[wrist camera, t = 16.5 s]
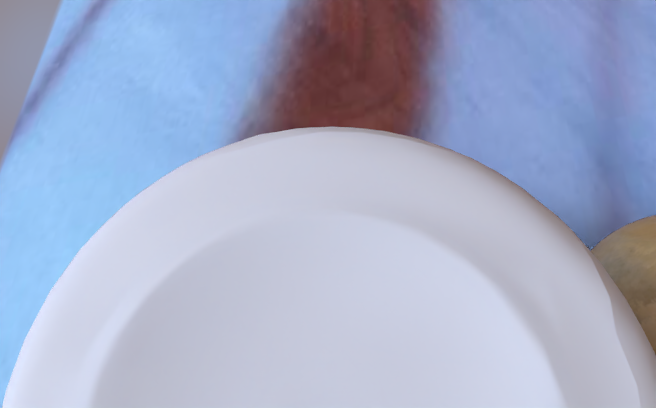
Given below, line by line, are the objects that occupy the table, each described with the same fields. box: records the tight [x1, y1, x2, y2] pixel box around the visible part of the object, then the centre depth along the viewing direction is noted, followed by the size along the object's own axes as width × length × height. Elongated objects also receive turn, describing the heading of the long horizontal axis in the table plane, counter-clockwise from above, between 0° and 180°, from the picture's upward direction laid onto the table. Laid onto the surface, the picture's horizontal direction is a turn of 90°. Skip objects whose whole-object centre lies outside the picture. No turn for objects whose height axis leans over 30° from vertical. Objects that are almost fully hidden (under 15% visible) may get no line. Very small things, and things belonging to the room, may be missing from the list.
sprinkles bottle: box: [2, 127, 656, 408], centre depth 9 cm, size 5×5×14 cm
